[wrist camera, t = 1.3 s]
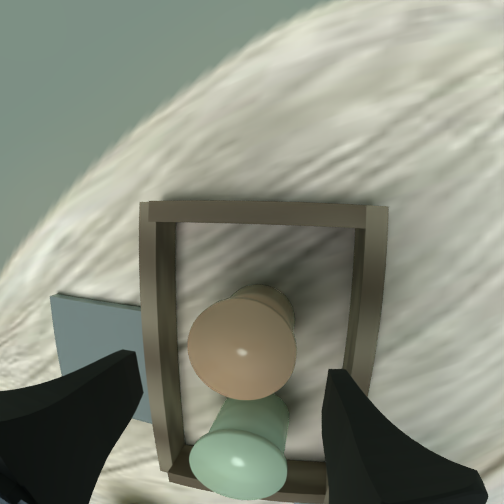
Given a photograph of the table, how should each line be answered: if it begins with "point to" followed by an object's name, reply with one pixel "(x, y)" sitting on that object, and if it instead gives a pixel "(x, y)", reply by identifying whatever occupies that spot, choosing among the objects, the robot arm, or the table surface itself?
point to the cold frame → (165, 329)
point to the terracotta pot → (245, 343)
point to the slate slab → (98, 336)
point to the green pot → (244, 449)
